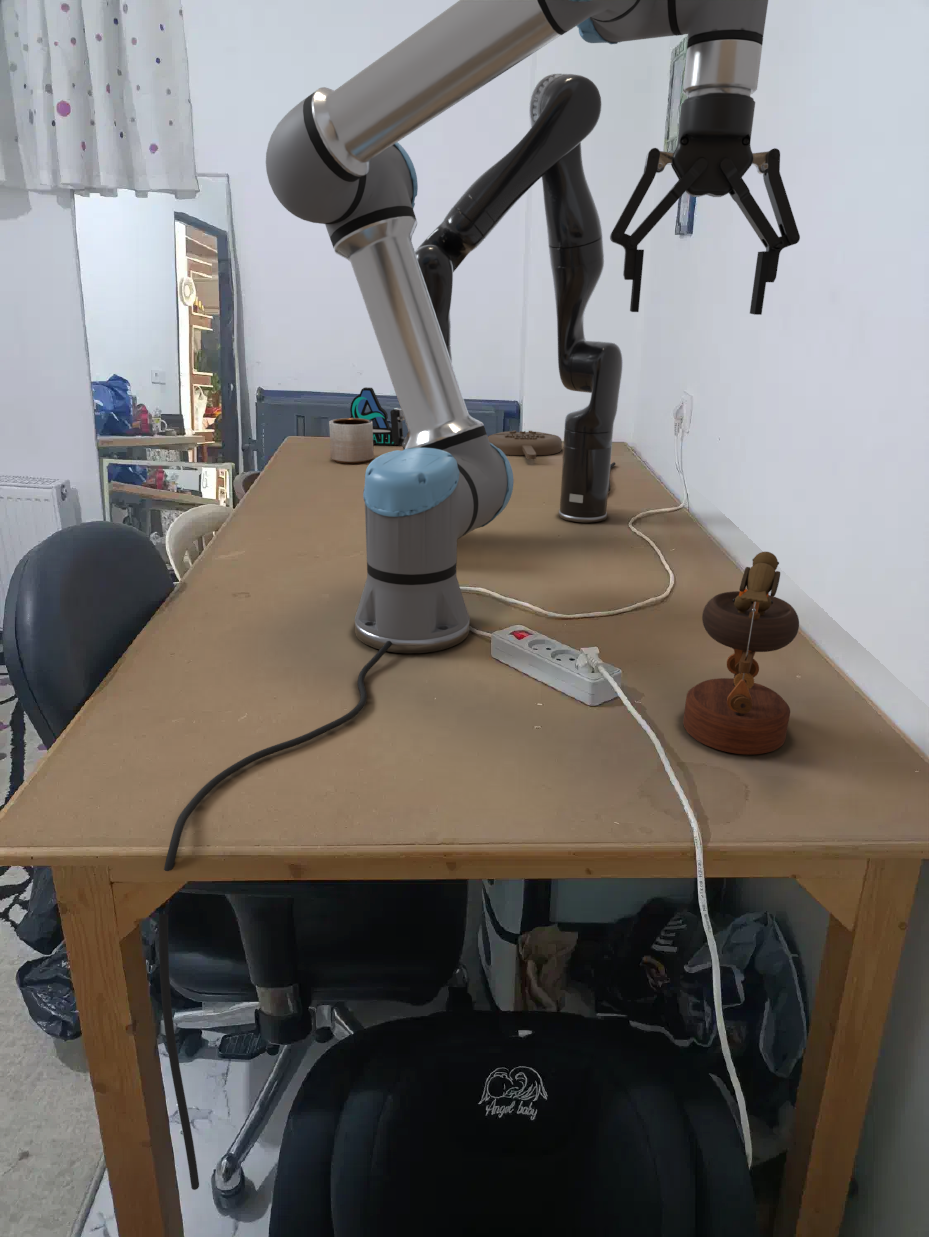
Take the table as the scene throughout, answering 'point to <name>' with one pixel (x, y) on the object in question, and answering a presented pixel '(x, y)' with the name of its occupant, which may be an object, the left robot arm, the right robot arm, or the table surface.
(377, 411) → the decorative sign
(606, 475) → the right robot arm
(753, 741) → the music box
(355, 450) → the planter
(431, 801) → the table surface
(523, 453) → the ice cream bar
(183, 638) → the table surface
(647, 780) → the table surface
